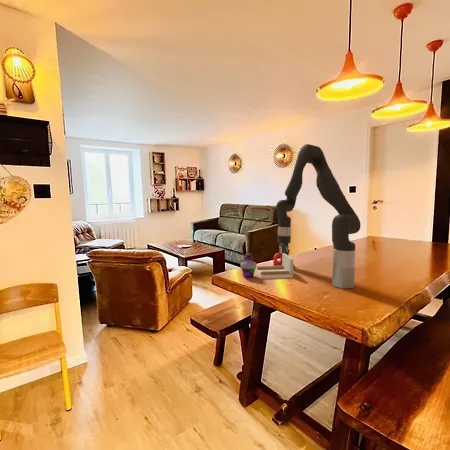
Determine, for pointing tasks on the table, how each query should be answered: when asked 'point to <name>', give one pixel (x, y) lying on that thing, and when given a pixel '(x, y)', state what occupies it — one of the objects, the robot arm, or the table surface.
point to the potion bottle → (248, 266)
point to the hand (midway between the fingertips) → (283, 263)
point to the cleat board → (277, 269)
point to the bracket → (275, 261)
